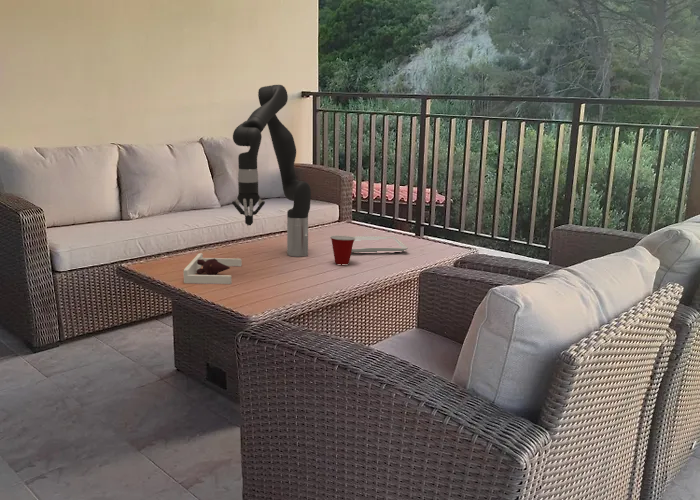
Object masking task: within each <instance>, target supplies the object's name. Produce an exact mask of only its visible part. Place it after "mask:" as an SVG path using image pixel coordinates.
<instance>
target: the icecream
mask: <svg viewBox="0 0 700 500" xmlns="http://www.w3.org/2000/svg"><path fill="white" fill-rule="evenodd" d="M213 258H214V259H209V260H207V261H206V262H205V261H204V260H203V259H202V260H201V259H199V260H198V261H197V264H199V265H201V266H202V267H201V268H200V269H198V270H197V273H196V274H197V275H204V274H205V275H219V273H221V272H224V271H226V270H227V271H228V270H230V269H231V266H226V265H224V264H222V263H219V262H218V261H217V260H216V259H215V258H216V257H213Z"/></svg>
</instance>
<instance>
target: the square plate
mask: <svg viewBox="0 0 700 500" xmlns="http://www.w3.org/2000/svg"><path fill="white" fill-rule="evenodd" d="M353 237H355V238H356V239H355V240H354V241H361V240H379V239H387V238H393V239H394V240H395V241H396V242H397V243H398V244H399V246H401V247H402V248H361V249H352V252H351V253H353V252H377V251H404V250H406V251H407V250H408V248H409V247H407V246H406V244H404V243H403V242H402V241H400V240H399V239H398V238H397V237H396V236H381V235H380V236H379V235H377V236H373V235H371V236H370V235H369V236H368V235H362V236H360V235H359V236H358V235H357V236H353ZM404 252H405V251H404Z"/></svg>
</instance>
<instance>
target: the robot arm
mask: <svg viewBox="0 0 700 500" xmlns="http://www.w3.org/2000/svg"><path fill="white" fill-rule="evenodd" d="M257 93H258V94H257V96H258V101H259V105H260V106H259V107H258V108H256V109H255V110H254V111H253V112H251V114H250V115H249V117H248V118H247V120H245V121H243V122H242V123H240V124H239V125H238V126H237V127H236V128H235V129H234V130H233V133H232V140H233V143H234V144H235V145H236V146H238V147H249V150H248V151H245V152H241V153H239V154H238V173H237V183H238V184H237V185H238V189H237V190H238V195H237V198H236V199H235V200H233V201H232V203H231V204H232V205H233V207H234V208H235V209H236V210H237V211H238V213H239V214H240V215H243V216H244V218H245V219H244V223H245V225H247V226H252V225H253V224H254V216H255V215H257V214H258V213H259V212H260V210H261V209H262V208H263V206H264V205H265V203H266V202H265V200H262V199H261V197H260V194H259V173H258V155H259V151H260V148H261V147H260V146H261V142H262V131H263V130H264V129H265V128H266V126H267V127H268V131H269V135H270V140H271V143H272V147H273V150H274V155H275V157H276V160H277V165H278V169H279V174H280V178H281V185H282V190H283V193H284V196H285V198H286V199H288V200H289V201H293V207H292V208H290V209H288V210H287V213H286V216H287V217H286V218H287V219H286V220H287V221H286V227H287V229H286V230H287V232H286V233H287V234H286V235H287V237H286V238H287V239H286V245H287V246H286V248H287V249H286V254H287V255H288V256H290V257H296V258H299V257H308V255H309V214H310V211H311V210H310V209H311V197H312V194H311V193H312V192H311V186H310V184H309V183H308V182H307V181H302V180H298V179H297V176H296V171H295V162H296V158H297V147H296V143H295V139H294V136H293V134H292V132H291V131H290V130H289V128H288V127H286V126H285V125H284V124H283V123H282V122H281V120H279V118H278V116H277V113H279V111H280V110H282V109H283V108H284V107H285V106H286V105H287V103H288V98H289V96H288V95H289V94H288V91H287V89H286V87H285V86H284V85H282V84H272V85H265V86H261V87H260V88H259V89H258V91H257ZM257 203H258V206H257V208H256V209H255V210H254V208H255V206H256V205H257ZM240 204H241V205H240ZM241 206H242V207H243V208H242V207H241Z"/></svg>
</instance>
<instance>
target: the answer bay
mask: <svg viewBox="0 0 700 500" xmlns="http://www.w3.org/2000/svg"><path fill="white" fill-rule="evenodd" d="M203 254H204V253H202V252H201V253H200V252H199V253H198V254H196V256H195V257H194V258H193V259H192V260H191V261H190V262H189V264H188V265H187V266H185V268H184V269H183V284H199V285H200V284H202V285H203V284H205V285H206V284H207V285H210V284H211V285H213V284H214V285H215V284H217V285H232V275H225V274H222V275H221V274H217V275H207V274H198V273H197V270H198V269H202V268H203V266H201V265H199V264H197V261H198V260H199V259H201V260H202V259H203V260H204V261H205V262H206V261H207V260H209V259H214V258H215V259H216V260H217V261H218V262H219V263H222V264H224V265H226V266H228V267H242V258H234V257H233V258H228V257H227V258H226V257H225V258H224V257H223V258H221V257H219V258H218V257H204V256H203Z"/></svg>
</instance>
